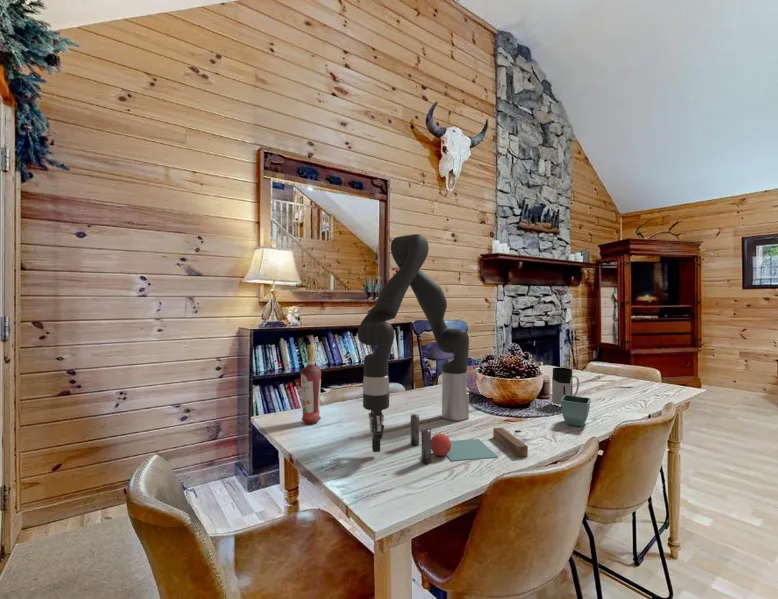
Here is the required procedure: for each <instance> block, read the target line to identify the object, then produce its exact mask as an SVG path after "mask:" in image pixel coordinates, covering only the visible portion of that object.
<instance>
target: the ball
mask: <svg viewBox="0 0 778 599" xmlns="http://www.w3.org/2000/svg"><path fill="white" fill-rule="evenodd" d="M450 441H451V440H450V438H449V437H448V436H447V435H446V434H444V433H437V434H435V435H433V436H431V452H432V453H433V454H435V455H436V456H438V457H439V456H440V457H442V456H447V455H446V454H447V453H448V452H449V451H450V449H451V442H450Z"/></svg>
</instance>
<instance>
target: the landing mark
mask: <svg viewBox="0 0 778 599" xmlns="http://www.w3.org/2000/svg"><path fill="white" fill-rule="evenodd" d="M450 442H451V449H450V451H449V452H448V453H447V454H446V455H445V456H446V457H447V458H448V459H449V460H450V462H456V461H457V462H459V461H469V460H471V461H472V460H481V459H483V460H484V459H493V458H496V459H497V458H499V456H498V455H497V454H496V453H495V452H494V451H493V450H492V449H490V448H489V447H488V446H487V445H486V444H485V443H484V442H483V441H482V440H480V439H479V438H472V439H457V440H450Z"/></svg>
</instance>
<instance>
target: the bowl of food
mask: <svg viewBox="0 0 778 599" xmlns="http://www.w3.org/2000/svg"><path fill="white" fill-rule="evenodd" d="M478 366H479V365H467V389H468V391H470V392H471V393H474V394H475V395H476V394H478V395H480V392H479V390H478V387H477V383H476V368H478ZM478 395H477V396H478Z"/></svg>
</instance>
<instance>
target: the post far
mask: <svg viewBox="0 0 778 599" xmlns="http://www.w3.org/2000/svg"><path fill="white" fill-rule="evenodd" d="M419 445H420V415H419V414H418V413H416V414H415V413H413V414H410V446H413V447H418V446H419Z"/></svg>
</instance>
